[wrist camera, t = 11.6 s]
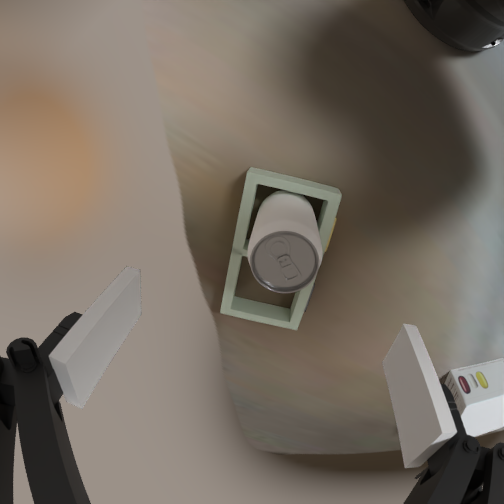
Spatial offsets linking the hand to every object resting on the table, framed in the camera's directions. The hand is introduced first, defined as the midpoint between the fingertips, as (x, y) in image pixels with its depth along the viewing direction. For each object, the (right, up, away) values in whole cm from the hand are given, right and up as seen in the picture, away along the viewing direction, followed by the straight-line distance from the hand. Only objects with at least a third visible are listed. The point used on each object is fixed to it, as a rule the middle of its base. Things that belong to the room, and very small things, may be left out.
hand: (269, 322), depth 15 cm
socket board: (+2, +4, +23) cm, 24 cm away
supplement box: (+43, -23, +31) cm, 58 cm away
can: (+3, +7, +22) cm, 23 cm away
